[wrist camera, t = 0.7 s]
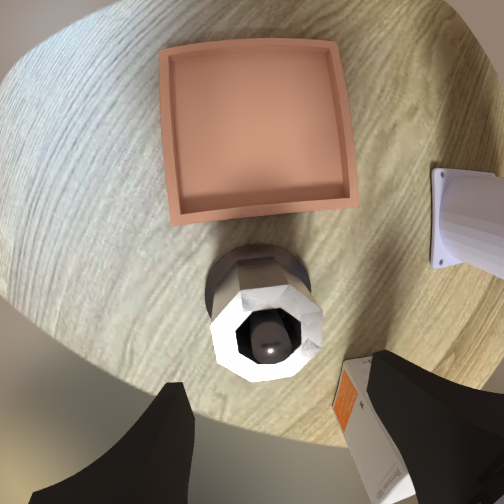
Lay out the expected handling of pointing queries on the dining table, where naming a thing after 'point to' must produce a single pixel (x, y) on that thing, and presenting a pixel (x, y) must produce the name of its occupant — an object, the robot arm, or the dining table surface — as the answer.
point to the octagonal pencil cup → (261, 298)
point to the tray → (255, 129)
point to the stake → (262, 321)
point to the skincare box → (369, 437)
